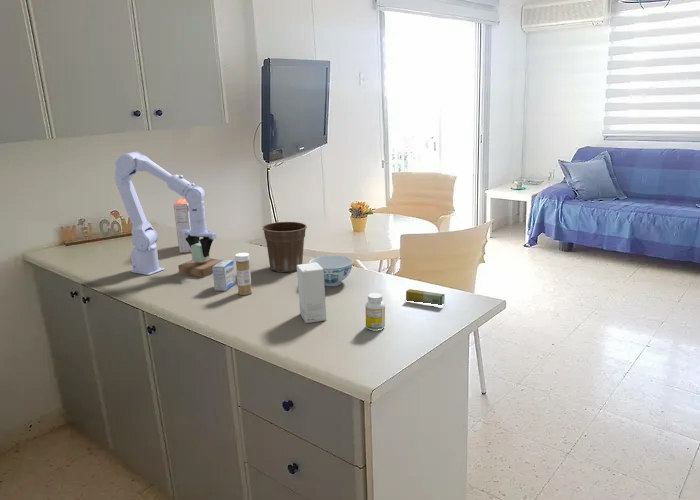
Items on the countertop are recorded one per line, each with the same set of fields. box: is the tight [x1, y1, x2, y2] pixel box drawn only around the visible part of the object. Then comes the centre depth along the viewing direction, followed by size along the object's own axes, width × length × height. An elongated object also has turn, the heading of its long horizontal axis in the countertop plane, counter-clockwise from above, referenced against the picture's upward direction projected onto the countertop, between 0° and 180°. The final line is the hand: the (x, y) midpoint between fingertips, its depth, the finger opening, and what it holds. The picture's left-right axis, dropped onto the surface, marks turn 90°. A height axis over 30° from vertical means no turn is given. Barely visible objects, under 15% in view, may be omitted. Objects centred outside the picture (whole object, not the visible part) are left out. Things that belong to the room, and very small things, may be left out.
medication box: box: [405, 288, 445, 305], centre depth 174 cm, size 12×3×4 cm, turn 61°
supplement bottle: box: [365, 292, 386, 330], centre depth 157 cm, size 5×5×10 cm
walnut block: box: [177, 257, 223, 278], centre depth 211 cm, size 12×12×3 cm
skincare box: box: [296, 262, 327, 324], centre depth 164 cm, size 8×7×16 cm
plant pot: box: [262, 221, 307, 273], centre depth 211 cm, size 16×16×16 cm
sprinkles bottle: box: [234, 252, 253, 296], centre depth 185 cm, size 5×5×14 cm
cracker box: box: [173, 197, 192, 254], centre depth 239 cm, size 14×6×21 cm, turn 6°
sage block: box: [191, 242, 211, 263], centre depth 210 cm, size 4×4×6 cm
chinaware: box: [308, 254, 354, 287], centre depth 194 cm, size 15×15×8 cm
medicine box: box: [212, 259, 236, 292], centre depth 192 cm, size 8×4×9 cm, turn 168°
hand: (201, 255), depth 210 cm, fingers closed on sage block, 4 cm apart
